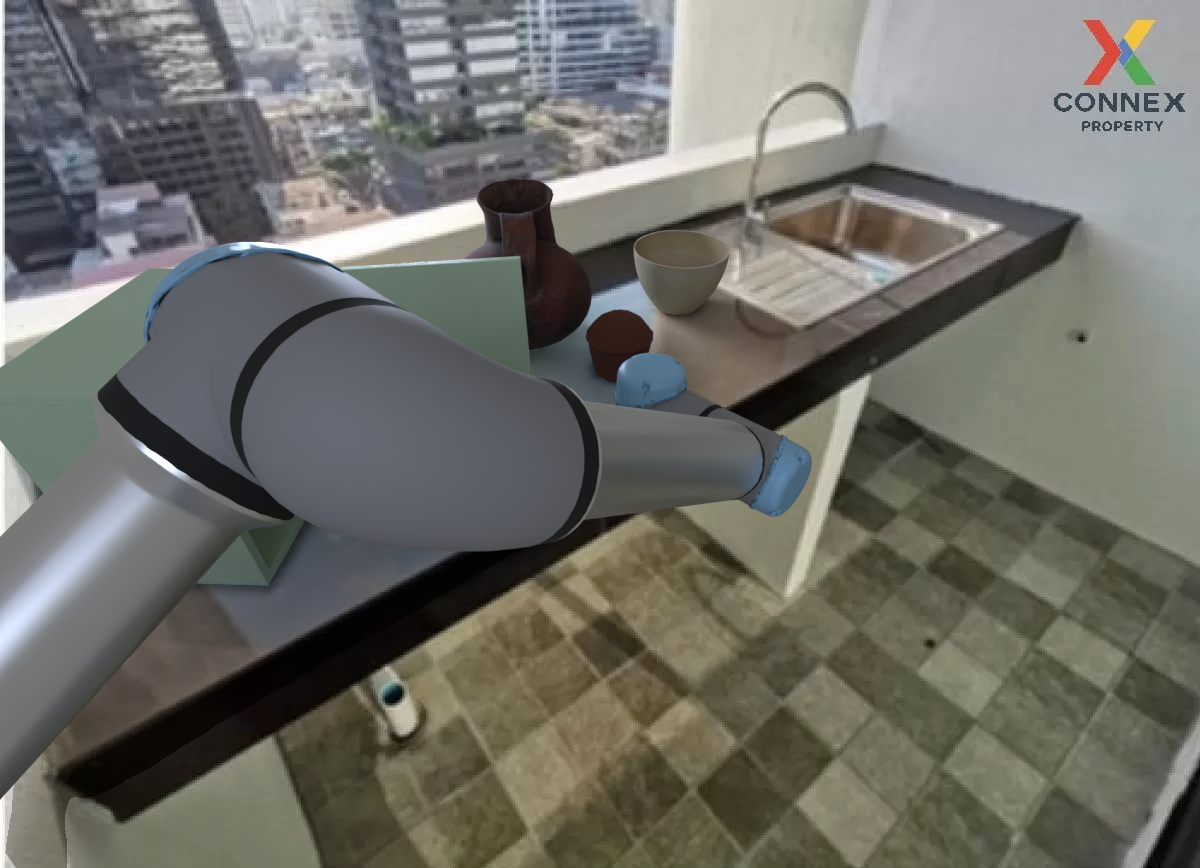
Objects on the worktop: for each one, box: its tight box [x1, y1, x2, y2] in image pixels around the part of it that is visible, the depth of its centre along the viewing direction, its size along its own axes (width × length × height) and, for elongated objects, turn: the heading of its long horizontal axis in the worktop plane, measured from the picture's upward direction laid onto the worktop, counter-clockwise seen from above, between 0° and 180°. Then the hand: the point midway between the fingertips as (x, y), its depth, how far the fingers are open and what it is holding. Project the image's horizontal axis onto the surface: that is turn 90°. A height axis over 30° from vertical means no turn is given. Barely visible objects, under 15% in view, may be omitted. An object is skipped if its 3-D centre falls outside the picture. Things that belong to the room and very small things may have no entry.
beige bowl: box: [633, 229, 731, 316], centre depth 117 cm, size 18×18×12 cm
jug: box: [463, 178, 592, 351], centre depth 105 cm, size 25×25×25 cm
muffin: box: [584, 308, 654, 383], centre depth 100 cm, size 12×11×10 cm
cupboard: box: [0, 268, 306, 587], centre depth 71 cm, size 18×26×26 cm
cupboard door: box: [338, 256, 532, 376], centre depth 84 cm, size 7×26×26 cm, turn 98°
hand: (394, 468), depth 74 cm, fingers open, 13 cm apart
